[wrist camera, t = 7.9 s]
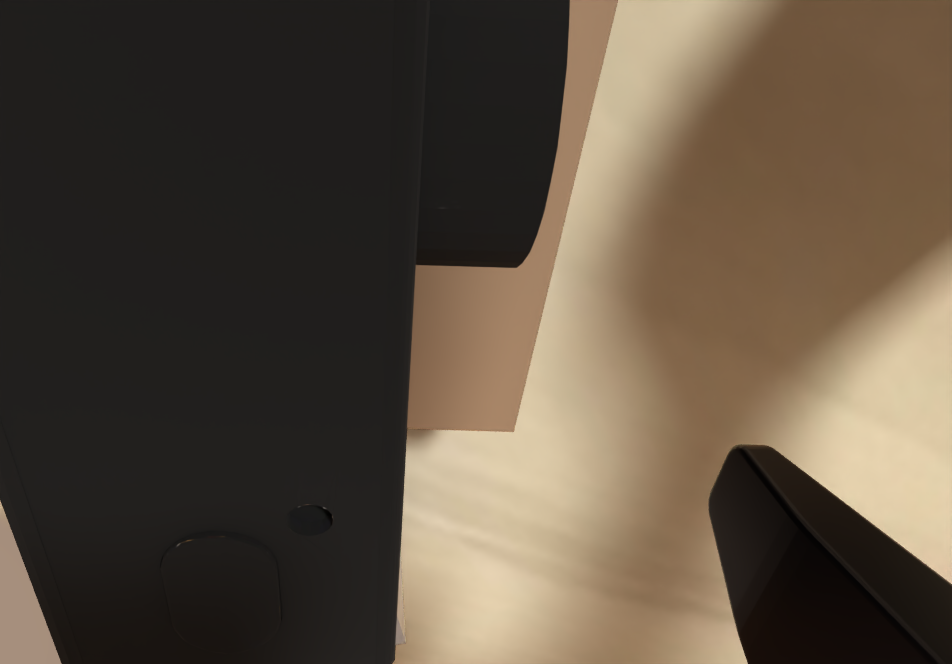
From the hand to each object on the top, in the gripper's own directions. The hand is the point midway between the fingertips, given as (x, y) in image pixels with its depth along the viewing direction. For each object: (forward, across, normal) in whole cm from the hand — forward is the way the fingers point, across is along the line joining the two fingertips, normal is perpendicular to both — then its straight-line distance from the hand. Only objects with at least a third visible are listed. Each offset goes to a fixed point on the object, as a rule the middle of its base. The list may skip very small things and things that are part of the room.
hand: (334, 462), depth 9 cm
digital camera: (+7, +1, -1) cm, 7 cm away
